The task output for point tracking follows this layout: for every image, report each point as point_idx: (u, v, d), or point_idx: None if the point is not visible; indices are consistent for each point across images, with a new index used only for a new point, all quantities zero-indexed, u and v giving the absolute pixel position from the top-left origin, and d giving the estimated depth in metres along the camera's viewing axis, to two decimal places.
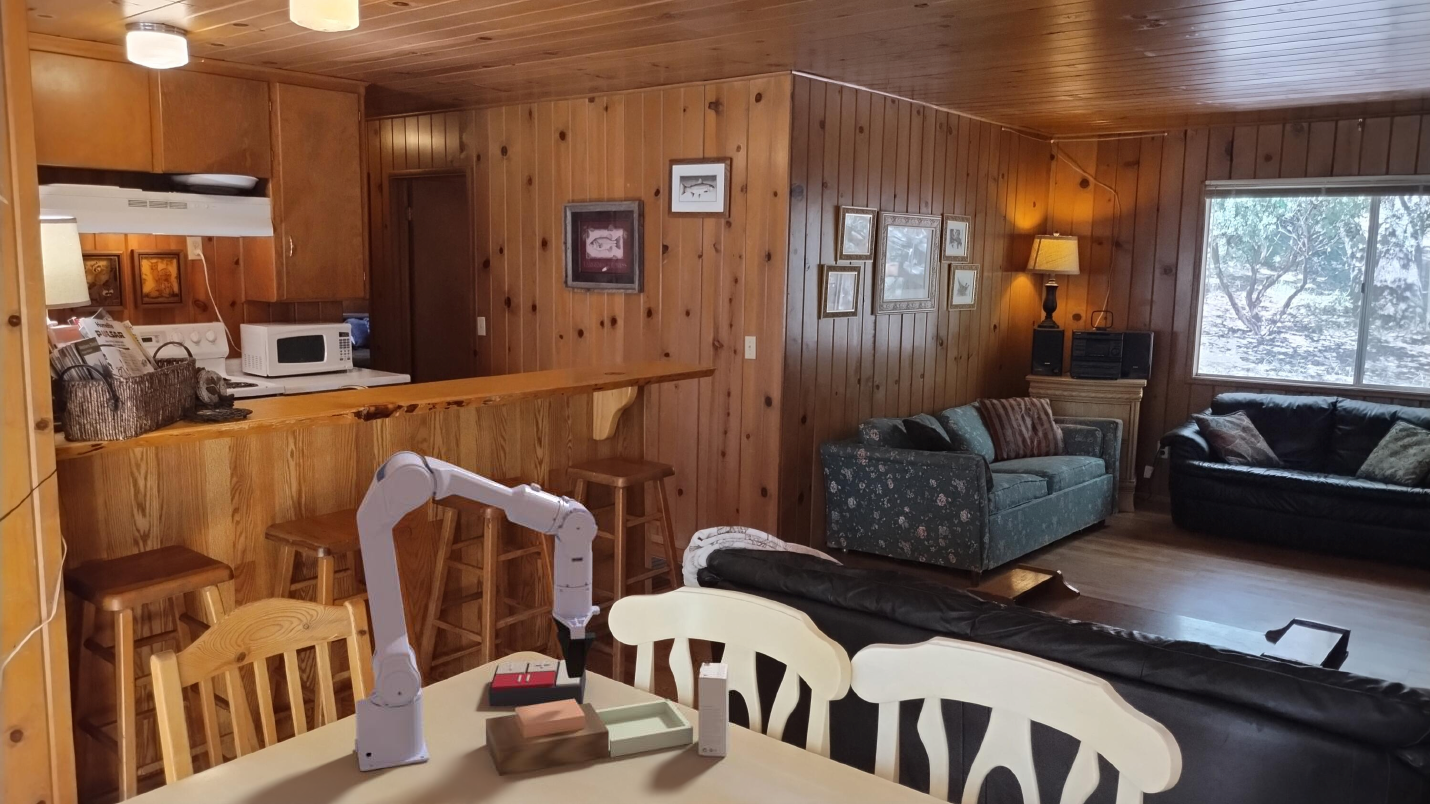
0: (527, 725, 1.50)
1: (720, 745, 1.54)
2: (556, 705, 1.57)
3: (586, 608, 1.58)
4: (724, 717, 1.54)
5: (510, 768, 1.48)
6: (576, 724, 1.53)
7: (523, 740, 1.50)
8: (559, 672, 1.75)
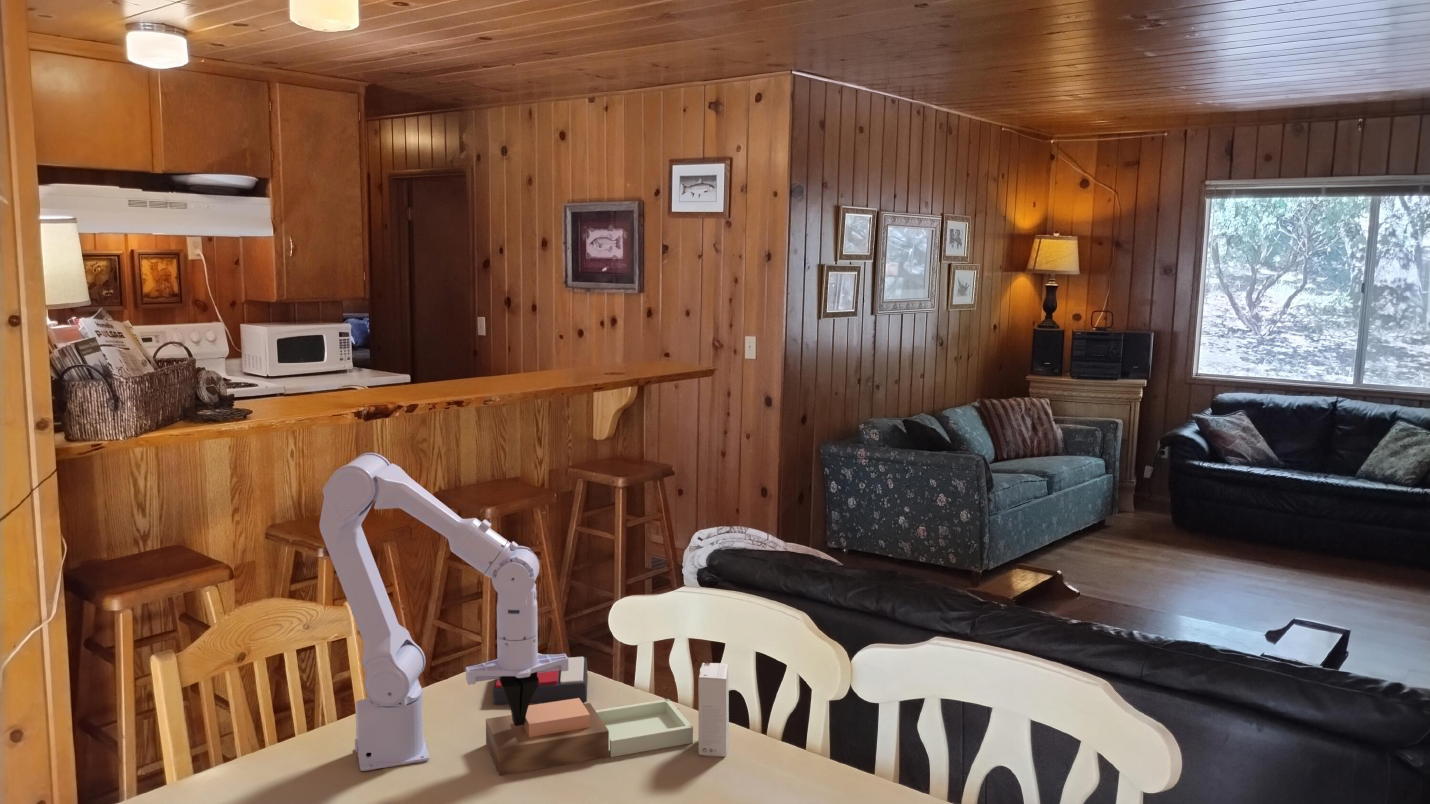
0: (532, 724, 1.51)
1: (720, 745, 1.54)
2: (560, 704, 1.57)
3: (505, 664, 1.49)
4: (724, 717, 1.54)
5: (510, 768, 1.48)
6: (581, 723, 1.54)
7: (523, 740, 1.50)
8: None
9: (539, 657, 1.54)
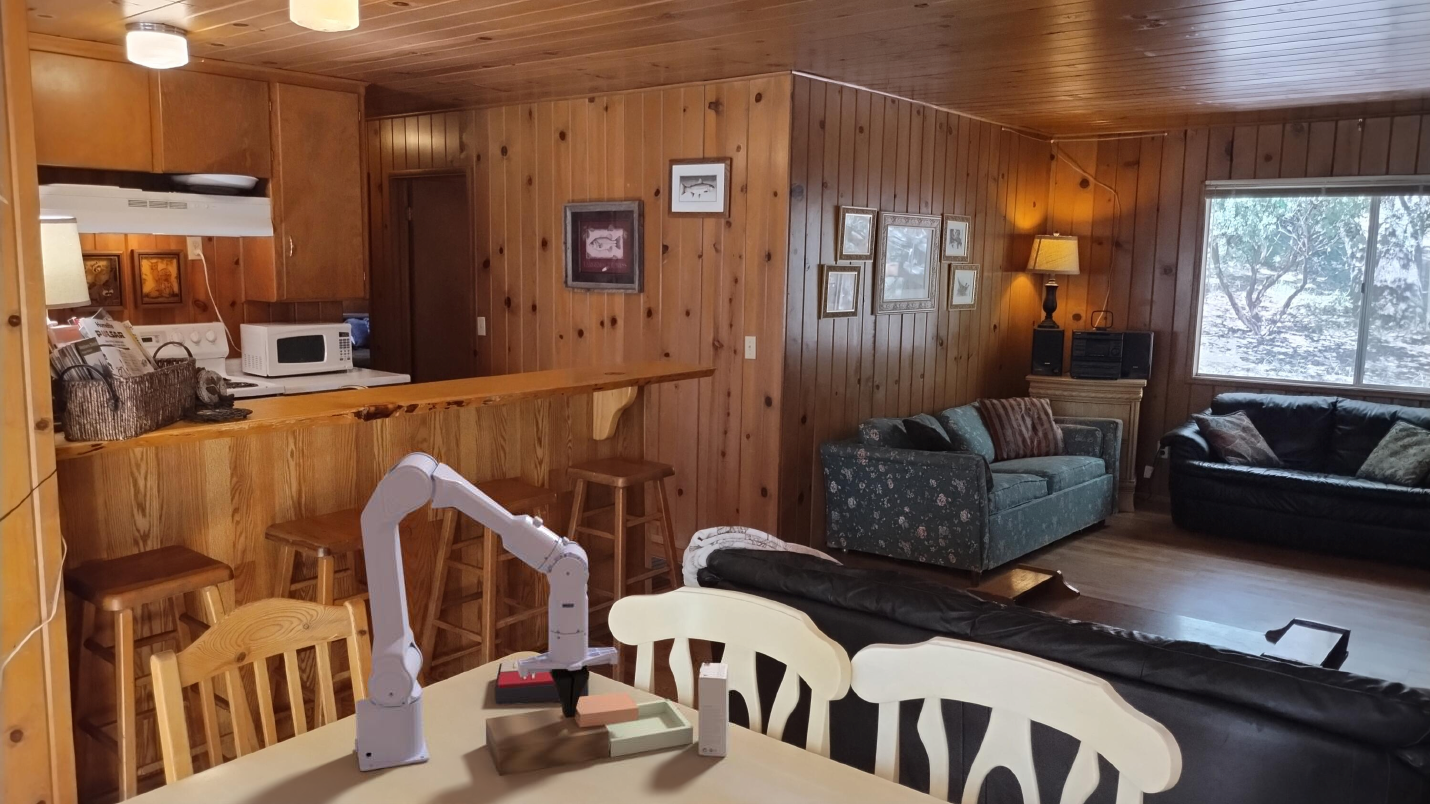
0: (583, 714, 1.54)
1: (720, 745, 1.54)
2: (609, 697, 1.60)
3: (556, 657, 1.52)
4: (724, 717, 1.54)
5: (510, 768, 1.48)
6: (630, 716, 1.57)
7: (523, 740, 1.50)
8: None
9: (588, 650, 1.57)
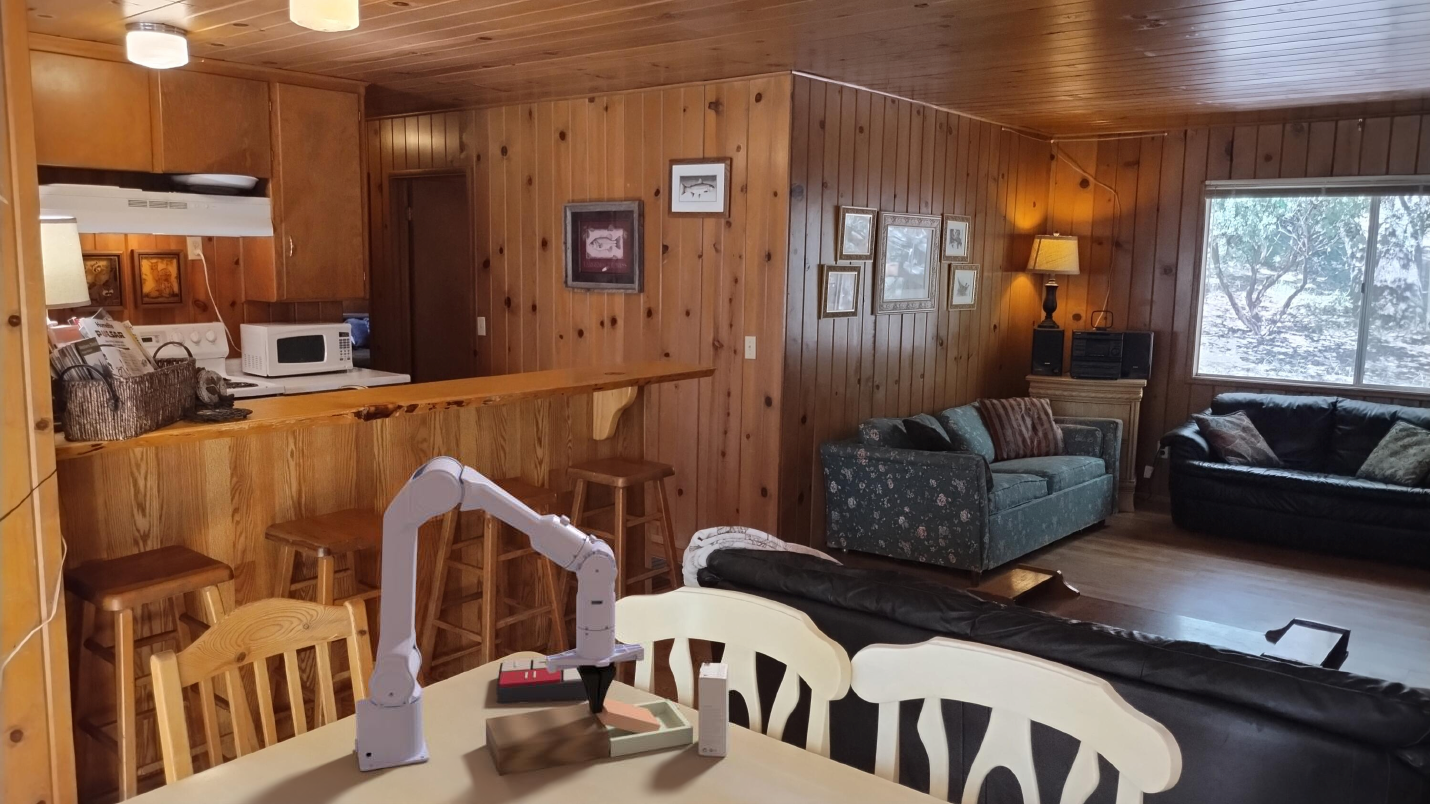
0: (610, 712, 1.55)
1: (720, 745, 1.54)
2: (632, 707, 1.62)
3: (584, 653, 1.53)
4: (724, 717, 1.54)
5: (510, 768, 1.48)
6: (650, 730, 1.58)
7: (523, 740, 1.50)
8: None
9: (615, 647, 1.59)
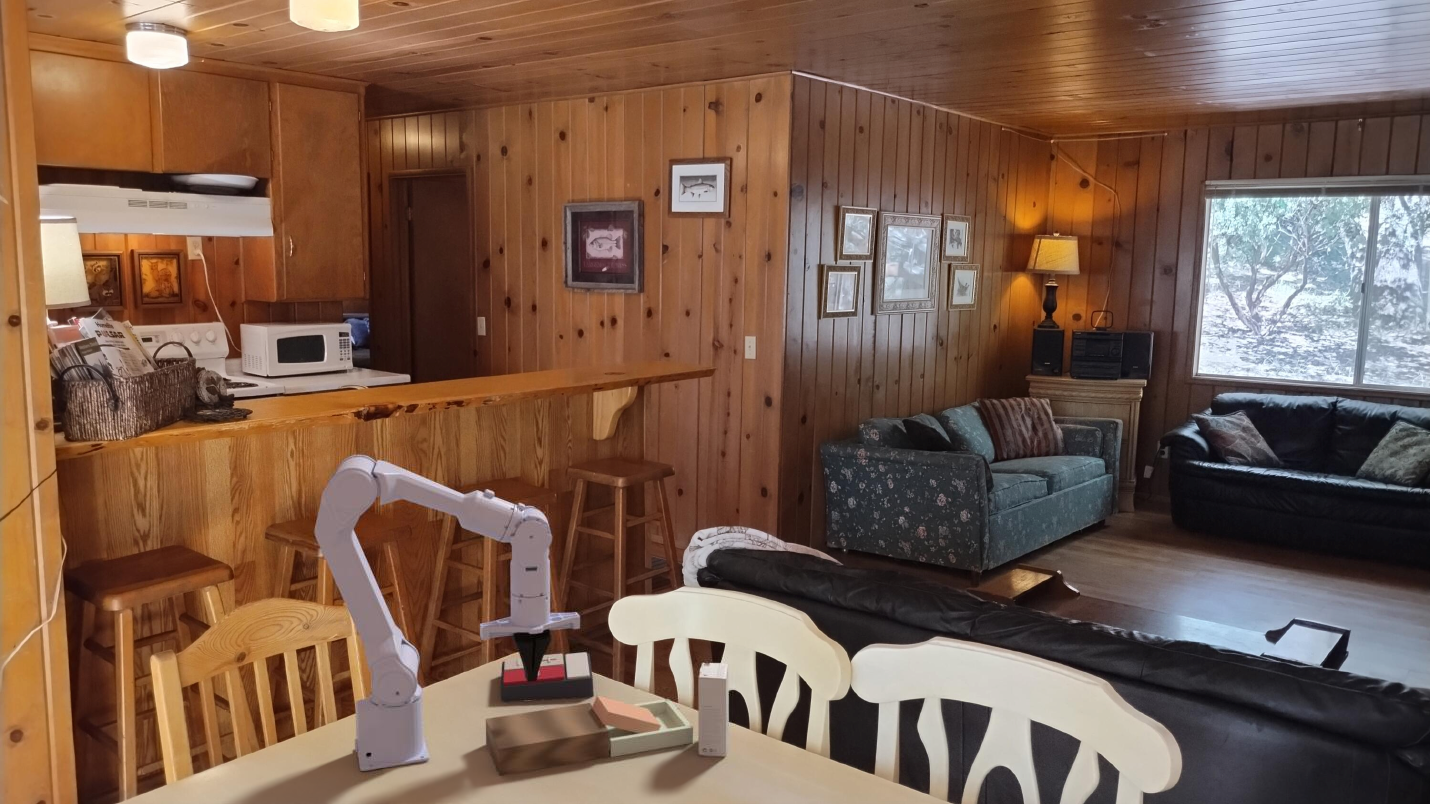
0: (610, 713, 1.55)
1: (720, 745, 1.54)
2: (633, 707, 1.62)
3: (518, 620, 1.53)
4: (724, 717, 1.54)
5: (510, 768, 1.48)
6: (650, 730, 1.58)
7: (523, 740, 1.50)
8: (567, 666, 1.78)
9: (551, 615, 1.58)
